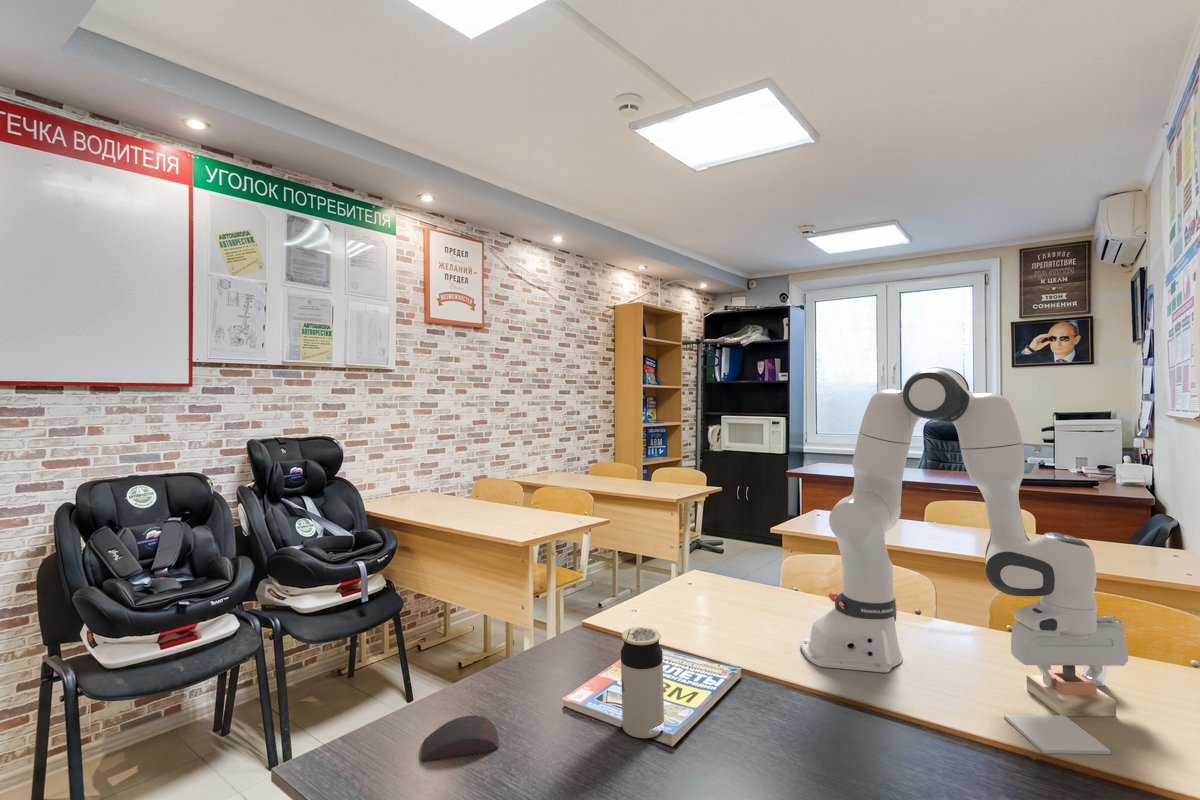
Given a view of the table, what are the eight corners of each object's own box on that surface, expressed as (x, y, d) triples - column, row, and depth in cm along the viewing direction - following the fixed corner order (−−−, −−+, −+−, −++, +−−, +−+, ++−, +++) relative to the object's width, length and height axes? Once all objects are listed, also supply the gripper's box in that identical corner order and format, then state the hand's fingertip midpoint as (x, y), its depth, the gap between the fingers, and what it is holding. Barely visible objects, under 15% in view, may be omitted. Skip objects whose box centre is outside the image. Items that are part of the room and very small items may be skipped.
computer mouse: (499, 754, 106) (498, 732, 106) (420, 767, 103) (419, 744, 103) (497, 729, 114) (496, 709, 114) (424, 740, 111) (423, 719, 111)
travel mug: (668, 719, 115) (666, 628, 114) (659, 743, 107) (656, 645, 107) (629, 713, 117) (626, 624, 117) (617, 736, 110) (614, 640, 110)
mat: (1043, 753, 101) (1043, 749, 101) (1004, 717, 112) (1004, 714, 112) (1110, 754, 100) (1110, 750, 100) (1064, 718, 111) (1064, 715, 111)
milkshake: (1118, 689, 121) (1117, 641, 121) (1088, 687, 123) (1088, 639, 122) (1104, 678, 126) (1103, 632, 126) (1075, 676, 127) (1075, 631, 127)
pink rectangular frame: (1064, 694, 114) (1064, 684, 114) (1043, 679, 120) (1043, 670, 120) (1096, 695, 114) (1096, 685, 114) (1074, 680, 120) (1073, 670, 120)
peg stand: (1061, 715, 112) (1060, 676, 112) (1026, 689, 122) (1026, 653, 122) (1116, 716, 112) (1115, 677, 112) (1077, 689, 122) (1076, 653, 122)
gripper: (1110, 610, 119) (1111, 678, 119) (1005, 610, 121) (1006, 677, 121) (1136, 622, 113) (1137, 693, 113) (1025, 622, 114) (1026, 692, 115)
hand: (1069, 685), depth 117 cm, fingers closed on pink rectangular frame, 6 cm apart
